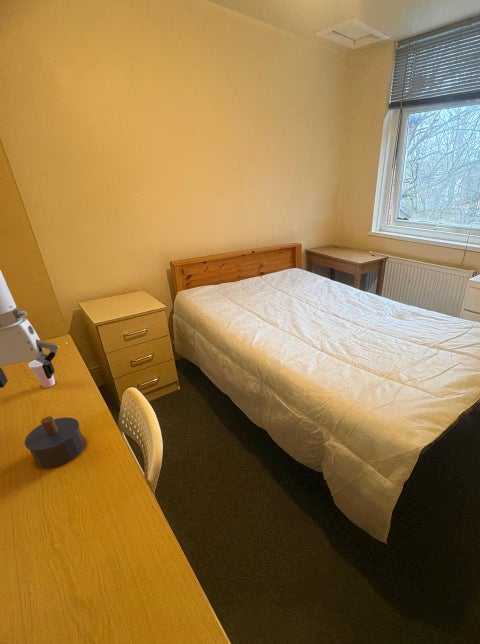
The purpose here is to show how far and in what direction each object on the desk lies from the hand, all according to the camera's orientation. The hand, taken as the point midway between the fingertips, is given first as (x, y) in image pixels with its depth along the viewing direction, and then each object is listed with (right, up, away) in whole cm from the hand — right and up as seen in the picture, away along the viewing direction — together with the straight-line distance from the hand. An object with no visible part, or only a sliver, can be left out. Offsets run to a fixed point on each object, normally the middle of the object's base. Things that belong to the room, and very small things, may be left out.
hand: (27, 380), depth 81 cm
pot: (+2, -21, +9) cm, 23 cm away
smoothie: (-23, -7, +36) cm, 43 cm away
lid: (+2, -15, +6) cm, 17 cm away
